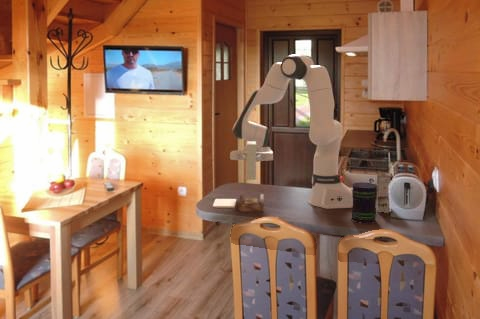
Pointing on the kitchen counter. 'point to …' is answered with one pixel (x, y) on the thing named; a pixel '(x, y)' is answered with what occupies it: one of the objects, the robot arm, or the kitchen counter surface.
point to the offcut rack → (251, 205)
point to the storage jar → (364, 202)
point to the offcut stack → (251, 201)
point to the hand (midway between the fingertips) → (251, 158)
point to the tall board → (251, 160)
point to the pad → (224, 203)
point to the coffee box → (383, 192)
